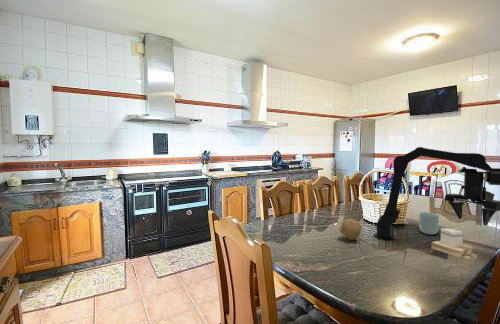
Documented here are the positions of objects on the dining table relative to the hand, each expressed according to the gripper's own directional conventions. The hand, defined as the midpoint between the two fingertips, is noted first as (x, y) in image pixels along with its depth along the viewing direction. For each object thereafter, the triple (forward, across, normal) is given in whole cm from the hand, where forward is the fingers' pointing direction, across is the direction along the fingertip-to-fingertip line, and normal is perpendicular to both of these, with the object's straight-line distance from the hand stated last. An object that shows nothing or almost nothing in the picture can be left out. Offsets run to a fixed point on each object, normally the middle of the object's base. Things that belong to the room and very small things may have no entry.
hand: (472, 221), depth 99 cm
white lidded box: (+10, +4, +6) cm, 12 cm away
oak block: (+13, +3, +6) cm, 15 cm away
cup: (+13, +22, -4) cm, 26 cm away
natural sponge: (+12, +23, +40) cm, 48 cm away
